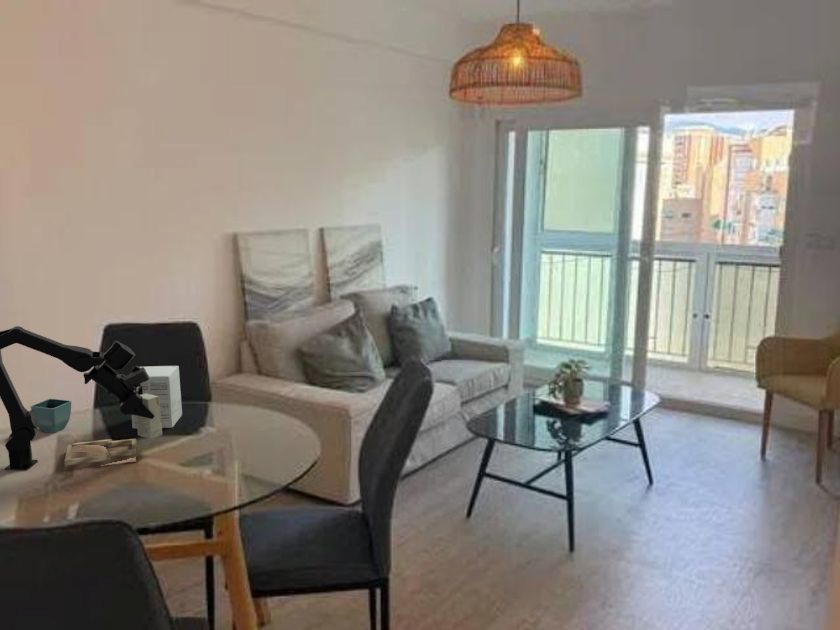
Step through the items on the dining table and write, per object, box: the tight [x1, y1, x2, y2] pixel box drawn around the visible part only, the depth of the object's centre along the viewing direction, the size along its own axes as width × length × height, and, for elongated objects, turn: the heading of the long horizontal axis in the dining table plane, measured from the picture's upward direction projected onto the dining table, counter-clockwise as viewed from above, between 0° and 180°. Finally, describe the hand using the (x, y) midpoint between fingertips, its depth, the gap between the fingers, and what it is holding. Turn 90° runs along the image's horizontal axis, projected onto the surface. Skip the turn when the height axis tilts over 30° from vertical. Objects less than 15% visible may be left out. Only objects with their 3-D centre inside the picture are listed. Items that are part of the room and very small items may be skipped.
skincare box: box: [136, 393, 163, 440], centre depth 232 cm, size 6×4×12 cm
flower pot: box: [30, 398, 72, 434], centre depth 252 cm, size 9×9×9 cm
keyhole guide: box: [63, 438, 138, 472], centre depth 230 cm, size 19×16×3 cm
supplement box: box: [131, 365, 183, 429], centre depth 259 cm, size 13×13×18 cm
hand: (153, 413), depth 233 cm, fingers closed on skincare box, 7 cm apart
